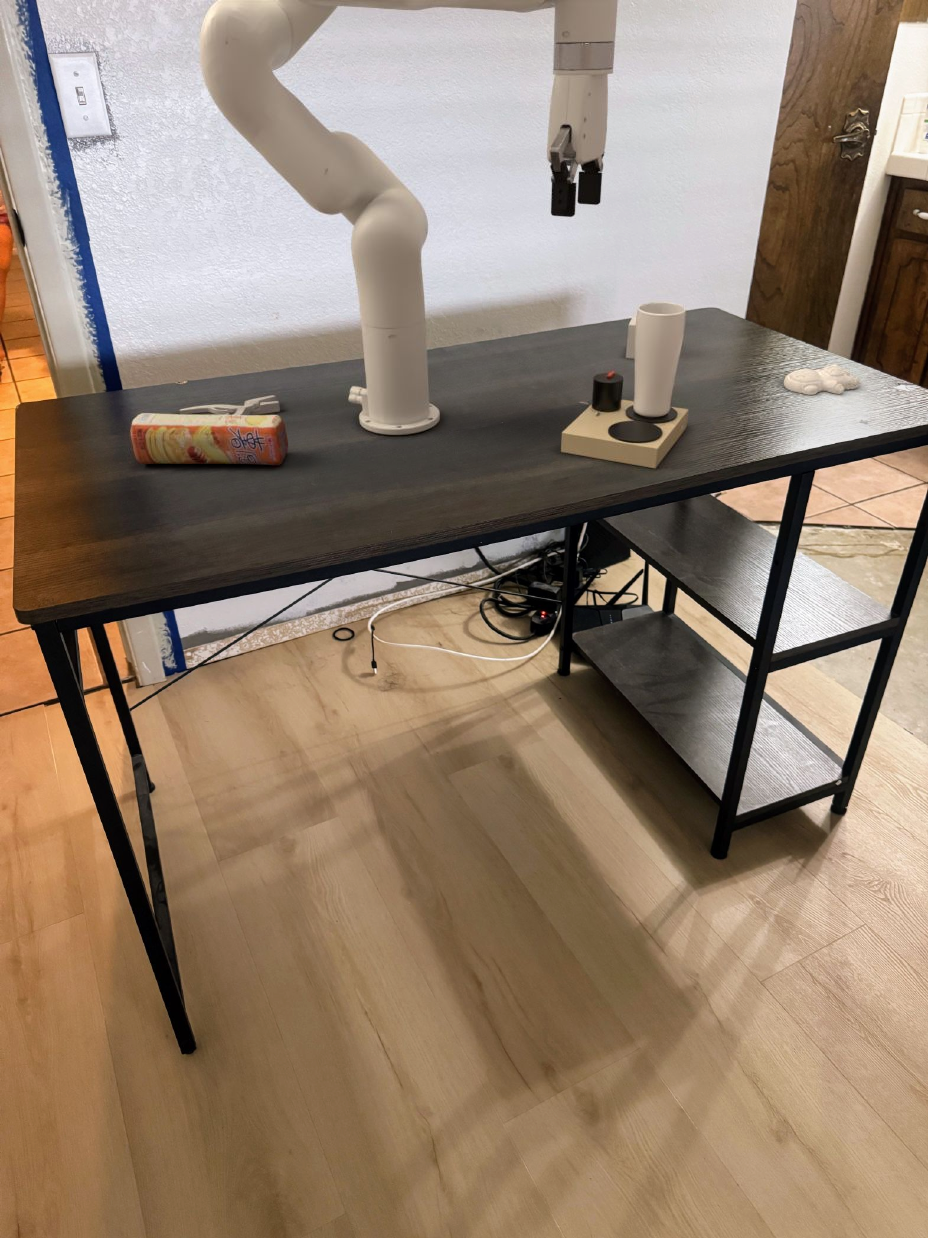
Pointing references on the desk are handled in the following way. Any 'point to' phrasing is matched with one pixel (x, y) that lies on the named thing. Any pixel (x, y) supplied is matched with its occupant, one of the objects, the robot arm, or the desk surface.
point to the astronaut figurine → (820, 380)
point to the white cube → (631, 338)
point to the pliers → (239, 407)
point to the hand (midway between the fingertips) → (576, 209)
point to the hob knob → (607, 392)
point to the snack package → (209, 439)
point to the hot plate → (595, 441)
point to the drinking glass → (657, 356)
